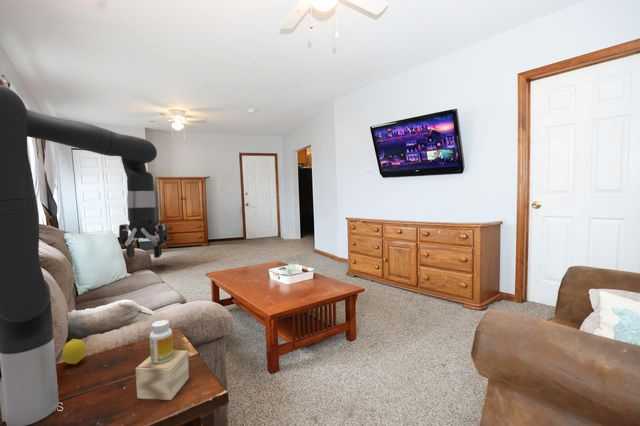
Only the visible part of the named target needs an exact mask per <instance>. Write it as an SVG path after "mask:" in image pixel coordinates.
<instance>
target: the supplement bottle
mask: <svg viewBox="0 0 640 426" xmlns="http://www.w3.org/2000/svg"><path fill="white" fill-rule="evenodd" d="M173 339H174V337H173V330H172V329H171V328H170V322H169V320H167V319H161V320H158V321H154V322H153V323H152V324H151V332H150V333H149V351H150V353H149V356H151V361H152V362H153V363H162V362H166V361H168V360H170V359H171V358H172V357H173V350H174V341H173Z"/></svg>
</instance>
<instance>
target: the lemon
mask: <svg viewBox="0 0 640 426" xmlns="http://www.w3.org/2000/svg"><path fill="white" fill-rule="evenodd" d="M86 351H87V349H86V344H85V342H84V341H82V340H81V339H76V338H71V340H69V341H68V342H67V343H65V344H64V347H63V348H62V354H61V356H62V359H63V361H64V362H65V363H67V364H70V365H71V364H72V365H76V364H78V363H79V362H80V361H82V360H83V359H84V357H85V356H86V355H85V354H86Z"/></svg>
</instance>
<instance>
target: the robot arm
mask: <svg viewBox="0 0 640 426" xmlns="http://www.w3.org/2000/svg"><path fill="white" fill-rule="evenodd" d="M28 138H34V139H38V140H43V141H49V142H53V143H57V144H61V145H64V146H69V147H73V148H76V149H80V150H84V151H88V152H90V153H94V154H99V155H103V156H108V157H121V158H120V159H121V163H122V166H123V171H124V173H125V175H126V185H127V188H126V190H127V195H126V196H127V197H126V203H127V220H128V222H129V223H123V224H120V225H119V226H118V228H119V229H118V233H119V235H118V238H119V239H118V243H119V244H120V245H125V248H126V249H125V251H126V256H127V258H130V259H131V258H134V257H135V256H136V254H135V242H136V241H137V240H138V239H144V240H146V239H147V240H148V241H149V242H151V243H152V244H153V258H154V259H158V258H160V257H161V256H162V254H163V251H162V246H163V245H164V244H167V243H168V241H169V239H168V232H167V230H168V229H167V225H166V224H164V223H163V224H157V223H156V222H157V221H156V220H157V212H156V211H157V210H156V195H155V187H154V185H155V184H154V177H153V174H152V173H151V172H149V171H147V167H146V164H149V163H151V162H153V161H154V160H156V158H157V155H158V152H157V151H158V150H157V148H156V146H155V145H154V144H153V143H152V142H151V141H149V140H147V139H144V138H142V137H138V136H132V135H127V134H121V133H118V132H115V131H112V130H109V129H107V128H103V127H100V126H97V125H95V124H94V125H93V124H91V123H90V124H89V123H86V122H82V121H76V120H71V119H70V120H69V119H64V118H60V117H55V116H50V115H46V114H44V113H40V112H36V111H34V110H29V109H28V108H27V107H26V105H25V103H24V101H23V99H22V98H21V97H20V96H19V94H17V93H16V92H15V91H13V89H11V88H9V87H7V86H5V85H3V84H0V373H1V380H0V412H1V421H2V422H5V424H6V426H28V425H33V424H34V423H37V422H39V421H41V420H43V419H45V418H47V417H49V415H51V414H52V413H53V412H56V410H57V408H58V406H59V403H60V401H59V388H58V387H59V386H58V378H57V375H58V374H57V364H56V351H55V338H54V336H55V335H54V324H53V314H52V312H53V311H52V300H51V289H50V285H49V283H48V282H47V281H46V280H45V277H44V274H43V270H42V266H41V260H40V253H39V252H40V215H39V206H38V199H37V194H36V190H35V184H34V178H33V173H32V172H33V171H32V168H31V163H30V162H31V161H30V157H29V151H28ZM129 231H130V234H129ZM157 233H158V234H157Z"/></svg>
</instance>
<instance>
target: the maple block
mask: <svg viewBox="0 0 640 426" xmlns="http://www.w3.org/2000/svg"><path fill="white" fill-rule="evenodd" d="M189 369H190V368H189V352H188V350H181V349H173V357H172V358H171V359H170V360H168V361H166V362H162V363H153V362H152V361H151V355H149V356H148V357H147V358H145V360H144V361H143V362H141V363H140V364H139V365H138V366H137V367H135V379H136V380H135V382H136V383H135V384H136V394H137V395H136V397H137V399H141V400H162V401H163V400H164V401H165V400H166V401H167V400H168V401H171V400H172V399H173V398H175V396H176V395H177V394H178V392H179V391H180V390H181V389H182V387H183V386H184V385H185V383H186V382H187V381H188V380H189V378H190V375H189V374H190V373H189V371H190V370H189Z"/></svg>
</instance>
